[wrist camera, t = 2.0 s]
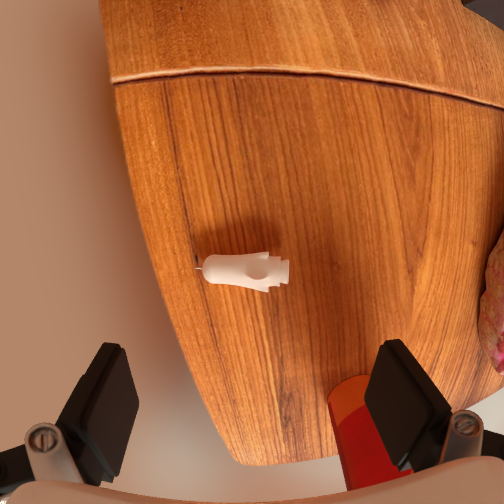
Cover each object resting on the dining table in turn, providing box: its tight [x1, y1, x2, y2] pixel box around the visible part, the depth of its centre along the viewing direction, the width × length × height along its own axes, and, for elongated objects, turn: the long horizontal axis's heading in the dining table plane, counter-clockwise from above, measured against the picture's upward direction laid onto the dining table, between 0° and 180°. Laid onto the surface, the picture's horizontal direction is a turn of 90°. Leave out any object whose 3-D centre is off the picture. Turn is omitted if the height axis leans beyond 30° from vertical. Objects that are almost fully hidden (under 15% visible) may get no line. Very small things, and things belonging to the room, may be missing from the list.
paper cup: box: [328, 375, 414, 491], centre depth 19 cm, size 8×8×14 cm
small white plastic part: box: [197, 252, 289, 292], centre depth 19 cm, size 4×6×3 cm, turn 66°
